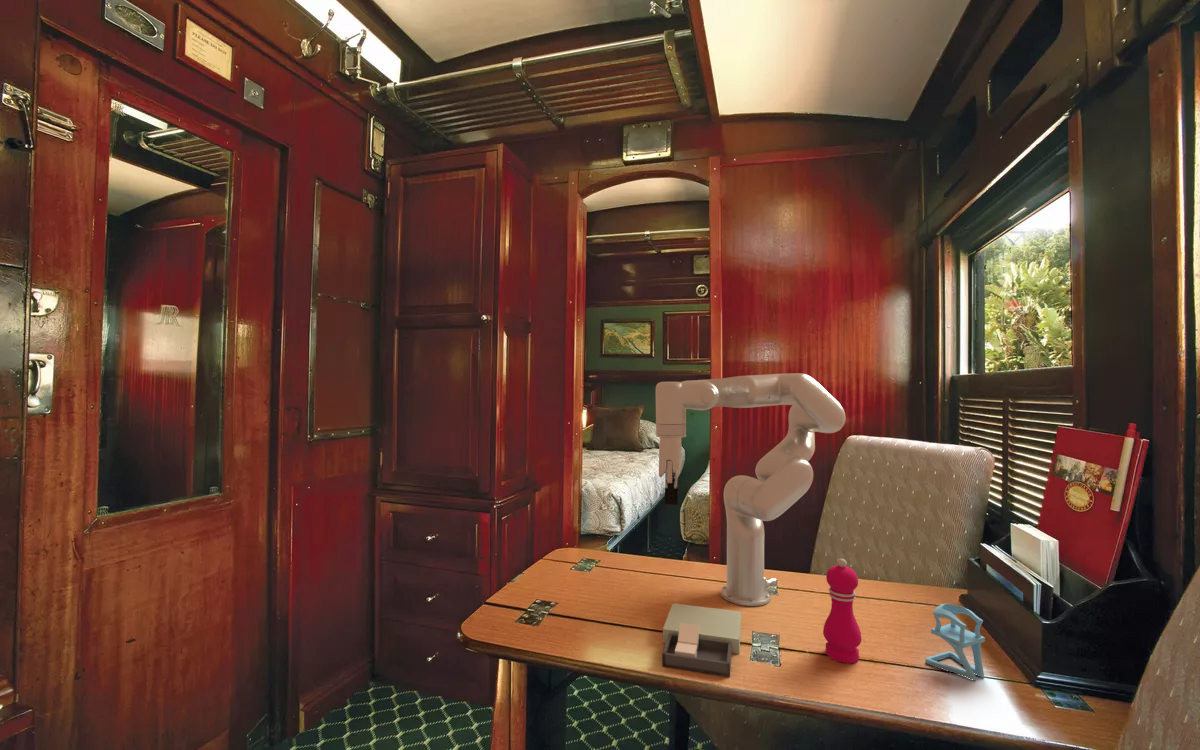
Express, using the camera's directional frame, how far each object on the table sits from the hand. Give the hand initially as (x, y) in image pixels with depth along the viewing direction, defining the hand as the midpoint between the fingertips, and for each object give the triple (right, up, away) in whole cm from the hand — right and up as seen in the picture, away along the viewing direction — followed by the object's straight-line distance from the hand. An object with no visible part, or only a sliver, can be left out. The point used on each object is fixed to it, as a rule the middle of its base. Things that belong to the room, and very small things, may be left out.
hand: (671, 503), depth 133 cm
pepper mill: (+32, -26, -24) cm, 48 cm away
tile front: (-1, -23, -26) cm, 35 cm away
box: (+2, -26, -26) cm, 36 cm away
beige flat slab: (+5, -26, -14) cm, 30 cm away
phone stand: (+53, -26, -28) cm, 65 cm away
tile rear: (+1, -23, -21) cm, 32 cm away
